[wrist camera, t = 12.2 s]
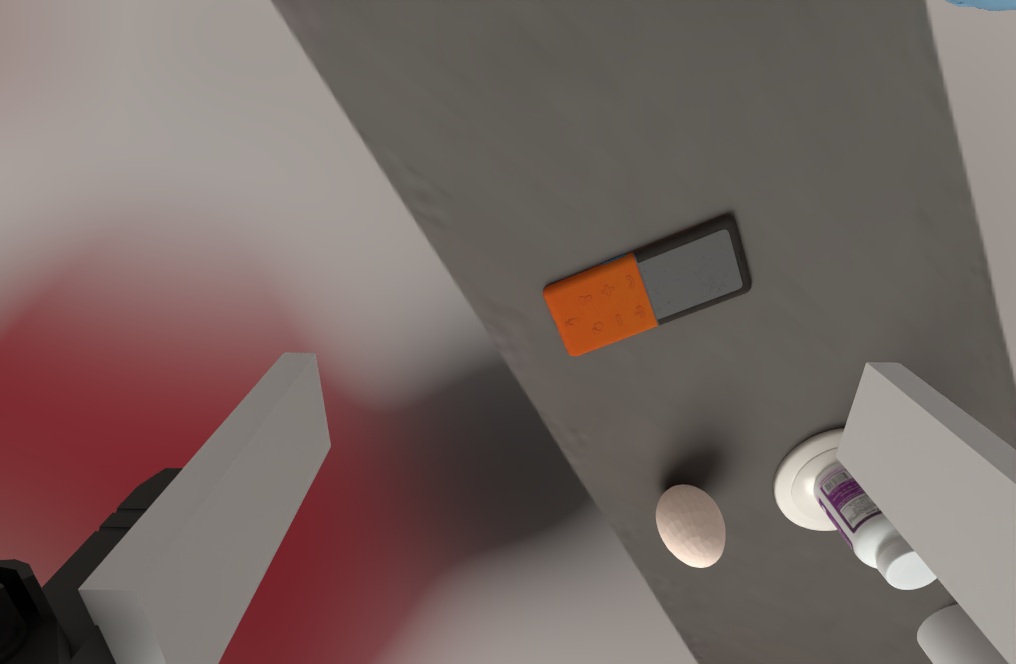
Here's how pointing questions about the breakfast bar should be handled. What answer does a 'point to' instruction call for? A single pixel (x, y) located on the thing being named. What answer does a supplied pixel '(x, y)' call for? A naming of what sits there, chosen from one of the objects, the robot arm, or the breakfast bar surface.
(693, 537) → the egg
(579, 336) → the phone
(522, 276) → the breakfast bar surface
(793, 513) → the saucer
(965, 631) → the white upright cylinder
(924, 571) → the pill bottle
